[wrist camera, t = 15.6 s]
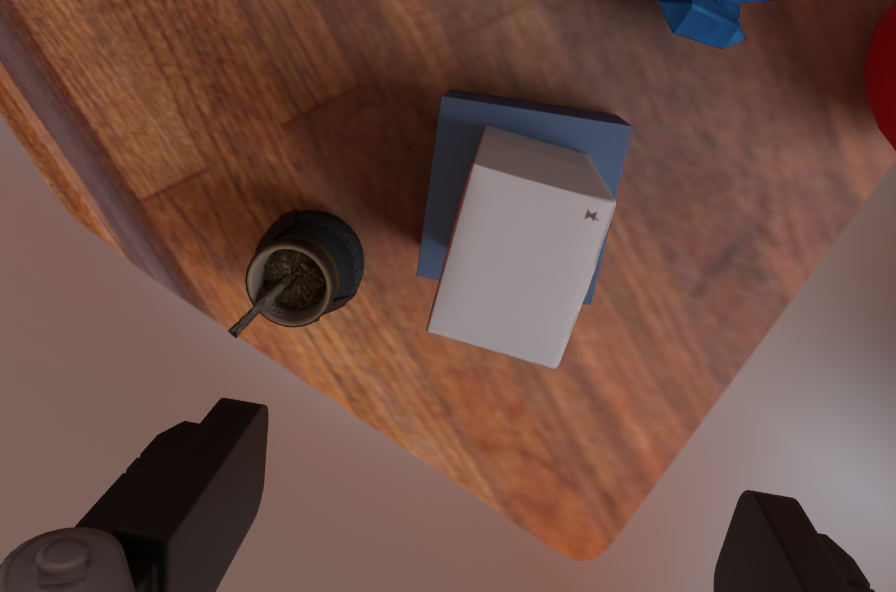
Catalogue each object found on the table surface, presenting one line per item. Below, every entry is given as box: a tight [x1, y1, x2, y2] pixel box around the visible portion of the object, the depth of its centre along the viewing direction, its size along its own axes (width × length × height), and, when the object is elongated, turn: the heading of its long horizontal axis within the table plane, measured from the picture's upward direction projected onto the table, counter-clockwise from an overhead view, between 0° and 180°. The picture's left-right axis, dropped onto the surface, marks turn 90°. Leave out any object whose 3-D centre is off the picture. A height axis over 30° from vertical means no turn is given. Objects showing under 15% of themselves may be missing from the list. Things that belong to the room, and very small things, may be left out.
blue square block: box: [417, 89, 632, 305], centre depth 46 cm, size 11×11×6 cm
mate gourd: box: [228, 210, 364, 338], centre depth 47 cm, size 7×8×10 cm
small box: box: [426, 126, 616, 369], centre depth 37 cm, size 8×6×13 cm
